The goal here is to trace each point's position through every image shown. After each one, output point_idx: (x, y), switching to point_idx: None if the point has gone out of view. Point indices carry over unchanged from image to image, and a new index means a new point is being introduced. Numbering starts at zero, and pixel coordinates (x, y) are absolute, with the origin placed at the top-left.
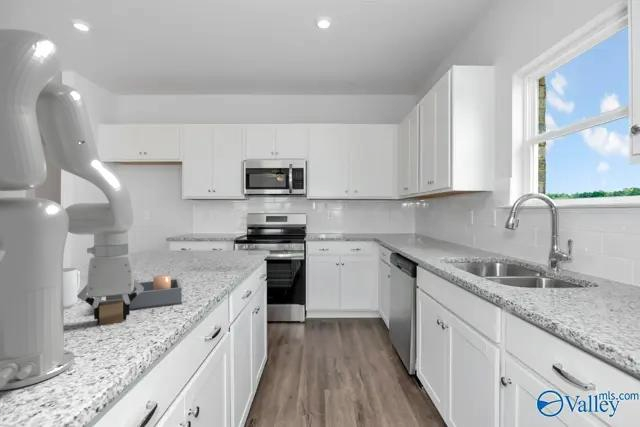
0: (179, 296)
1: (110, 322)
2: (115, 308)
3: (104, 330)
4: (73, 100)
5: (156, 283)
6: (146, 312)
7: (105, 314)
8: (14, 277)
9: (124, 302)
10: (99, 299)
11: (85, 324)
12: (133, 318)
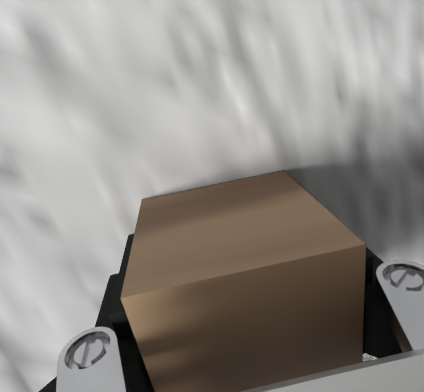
0: None
1: (220, 187)
2: (195, 251)
3: (220, 44)
4: None
5: None
6: (53, 359)
7: (270, 209)
8: None
9: (131, 354)
10: (417, 343)
11: (371, 221)
12: (95, 265)
